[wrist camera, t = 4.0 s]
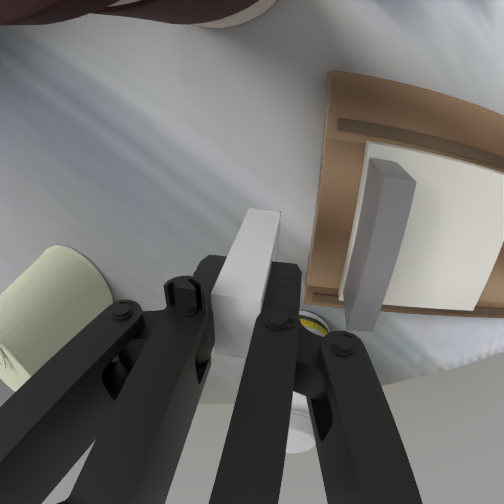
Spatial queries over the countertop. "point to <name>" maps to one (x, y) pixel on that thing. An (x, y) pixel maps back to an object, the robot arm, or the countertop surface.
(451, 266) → the lid
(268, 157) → the countertop surface
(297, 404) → the supplement bottle
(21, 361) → the can
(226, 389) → the countertop surface
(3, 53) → the countertop surface
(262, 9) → the coffee cup
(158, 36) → the countertop surface
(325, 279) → the board
